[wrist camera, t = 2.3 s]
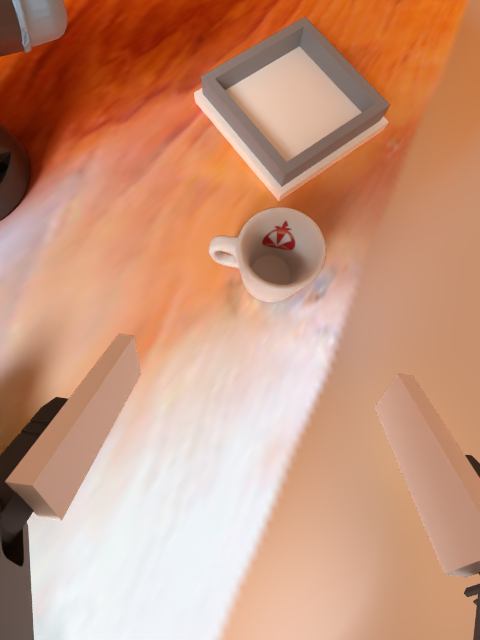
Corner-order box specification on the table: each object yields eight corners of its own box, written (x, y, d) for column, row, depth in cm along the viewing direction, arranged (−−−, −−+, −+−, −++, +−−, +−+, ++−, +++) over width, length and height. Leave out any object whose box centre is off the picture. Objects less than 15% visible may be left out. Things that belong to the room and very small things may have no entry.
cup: (205, 297, 29) (195, 273, 21) (220, 235, 30) (216, 191, 23) (296, 316, 29) (320, 299, 21) (307, 253, 30) (333, 215, 23)
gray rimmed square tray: (195, 102, 33) (191, 75, 30) (299, 40, 36) (305, 9, 32) (278, 201, 31) (284, 183, 28) (383, 130, 34) (399, 106, 30)
